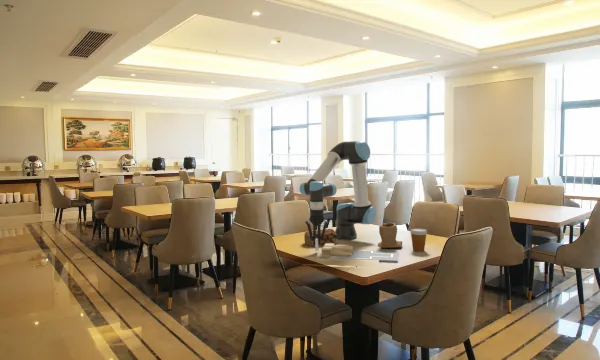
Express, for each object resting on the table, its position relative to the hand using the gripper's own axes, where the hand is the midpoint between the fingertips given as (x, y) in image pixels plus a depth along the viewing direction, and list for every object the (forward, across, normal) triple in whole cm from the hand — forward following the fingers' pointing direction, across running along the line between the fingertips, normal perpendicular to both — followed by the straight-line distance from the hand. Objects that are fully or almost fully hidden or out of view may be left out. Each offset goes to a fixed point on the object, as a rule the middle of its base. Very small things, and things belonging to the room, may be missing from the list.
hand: (317, 250), depth 244 cm
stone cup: (+3, +40, +24) cm, 47 cm away
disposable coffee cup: (+3, +56, +20) cm, 60 cm away
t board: (+2, +23, 0) cm, 24 cm away
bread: (+3, -2, +23) cm, 24 cm away
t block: (+1, +12, 0) cm, 12 cm away
